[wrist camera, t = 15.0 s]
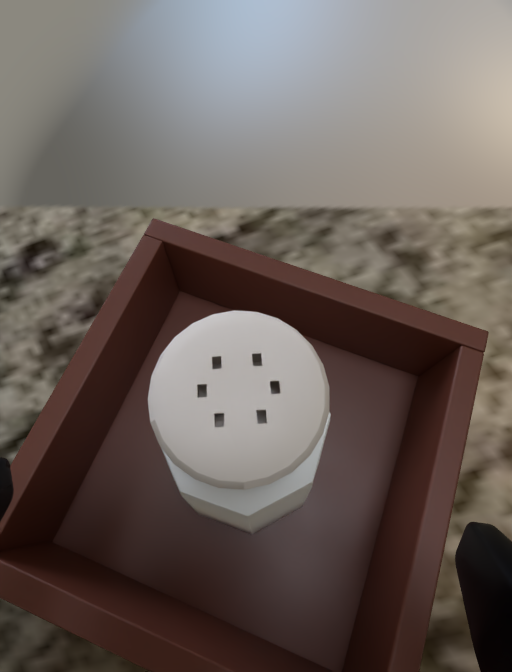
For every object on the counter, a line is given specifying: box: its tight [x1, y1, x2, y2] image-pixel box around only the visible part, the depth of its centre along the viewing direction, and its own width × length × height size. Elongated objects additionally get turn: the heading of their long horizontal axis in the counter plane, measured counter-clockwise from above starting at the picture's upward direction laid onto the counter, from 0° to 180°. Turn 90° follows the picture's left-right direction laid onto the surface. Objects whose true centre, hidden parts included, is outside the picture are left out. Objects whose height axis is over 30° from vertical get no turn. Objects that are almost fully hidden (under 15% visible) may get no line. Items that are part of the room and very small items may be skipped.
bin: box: [0, 218, 488, 672], centre depth 15 cm, size 13×13×5 cm
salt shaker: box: [148, 310, 331, 534], centre depth 11 cm, size 5×5×11 cm
